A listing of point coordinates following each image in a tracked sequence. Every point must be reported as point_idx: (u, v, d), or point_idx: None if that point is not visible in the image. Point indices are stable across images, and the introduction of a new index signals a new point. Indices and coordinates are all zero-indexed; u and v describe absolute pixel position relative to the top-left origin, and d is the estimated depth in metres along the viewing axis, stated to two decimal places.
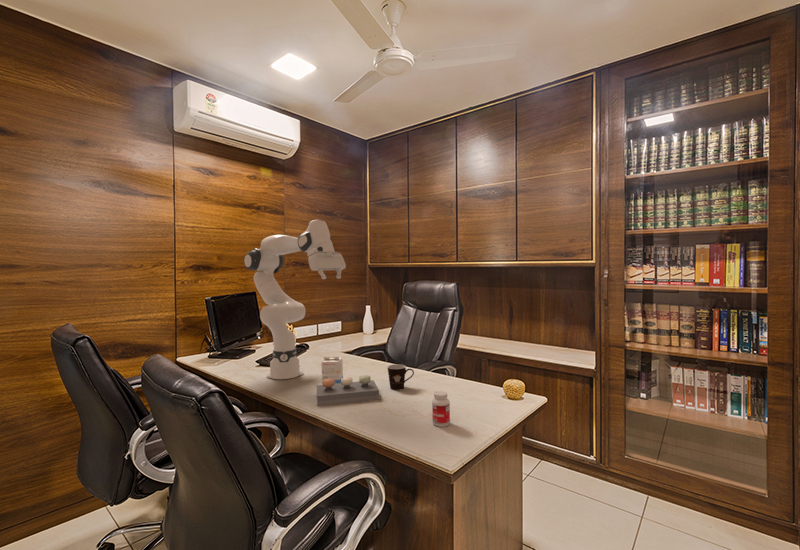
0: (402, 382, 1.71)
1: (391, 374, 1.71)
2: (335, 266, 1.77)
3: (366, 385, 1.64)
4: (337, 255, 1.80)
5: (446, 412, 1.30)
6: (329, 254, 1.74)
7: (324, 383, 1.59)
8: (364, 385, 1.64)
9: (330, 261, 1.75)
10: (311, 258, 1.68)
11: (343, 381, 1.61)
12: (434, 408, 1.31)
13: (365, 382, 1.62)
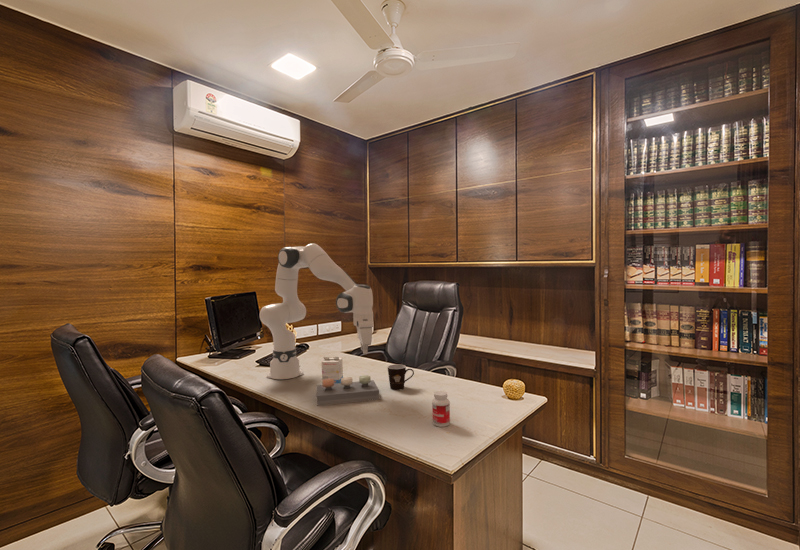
0: (402, 382, 1.71)
1: (391, 374, 1.71)
2: None
3: (366, 385, 1.64)
4: None
5: (446, 412, 1.30)
6: None
7: (324, 383, 1.59)
8: (364, 385, 1.64)
9: None
10: (367, 333, 1.55)
11: (343, 381, 1.61)
12: (434, 408, 1.31)
13: (365, 382, 1.62)
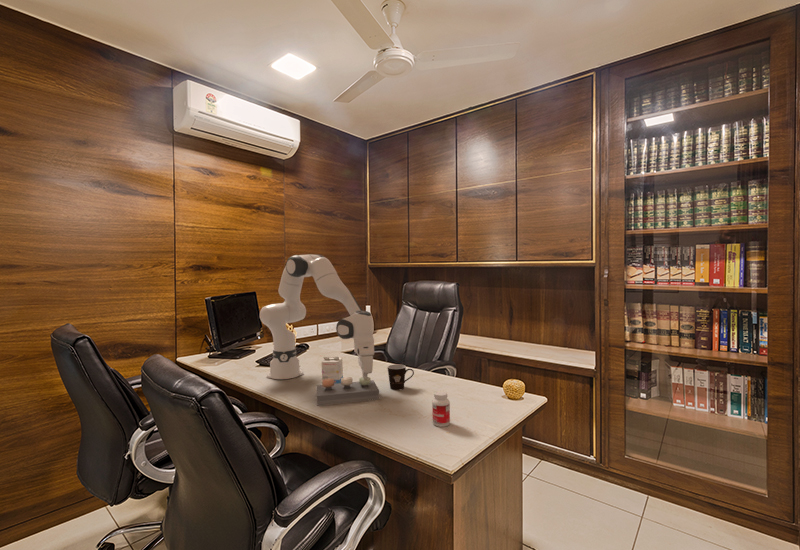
0: (402, 382, 1.71)
1: (391, 374, 1.71)
2: None
3: None
4: None
5: (446, 412, 1.30)
6: None
7: (324, 383, 1.59)
8: None
9: None
10: (368, 361, 1.55)
11: (343, 381, 1.61)
12: (434, 408, 1.31)
13: (365, 384, 1.63)
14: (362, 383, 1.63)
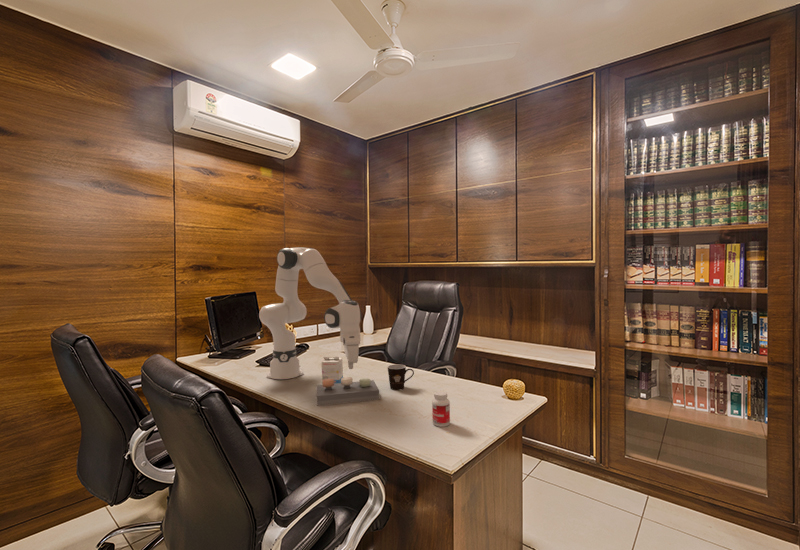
0: (402, 382, 1.71)
1: (391, 374, 1.71)
2: None
3: None
4: None
5: (446, 412, 1.30)
6: None
7: (324, 383, 1.59)
8: None
9: None
10: (353, 350, 1.55)
11: (343, 381, 1.61)
12: (434, 408, 1.31)
13: (365, 385, 1.63)
14: (362, 385, 1.63)
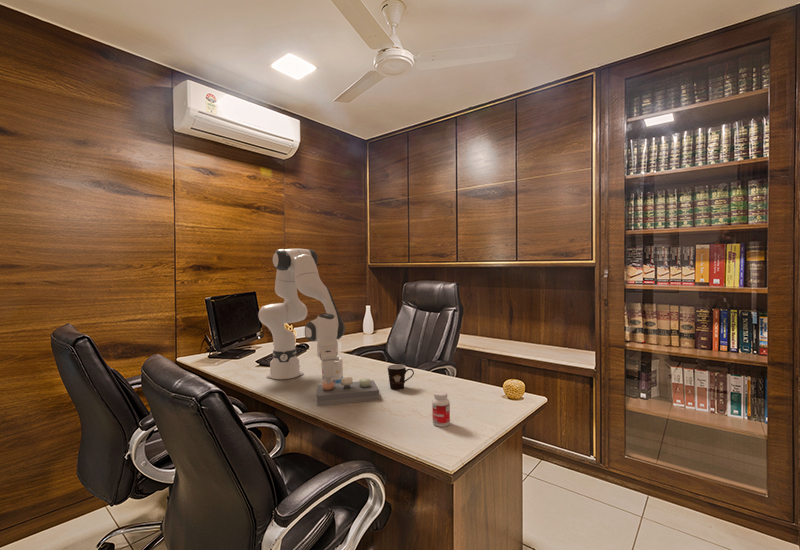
0: (402, 382, 1.71)
1: (391, 374, 1.71)
2: None
3: None
4: None
5: (446, 412, 1.30)
6: None
7: (324, 386, 1.59)
8: None
9: None
10: (329, 365, 1.52)
11: (343, 381, 1.61)
12: (434, 408, 1.31)
13: (365, 385, 1.63)
14: (362, 385, 1.63)
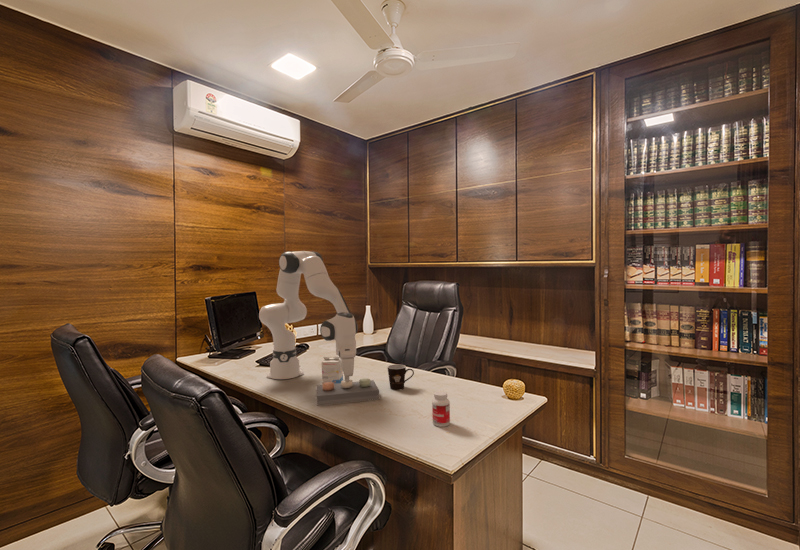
0: (402, 382, 1.71)
1: (391, 374, 1.71)
2: None
3: None
4: None
5: (446, 412, 1.30)
6: None
7: (324, 386, 1.59)
8: None
9: None
10: (349, 363, 1.54)
11: (343, 384, 1.61)
12: (434, 408, 1.31)
13: (365, 385, 1.63)
14: (362, 385, 1.63)
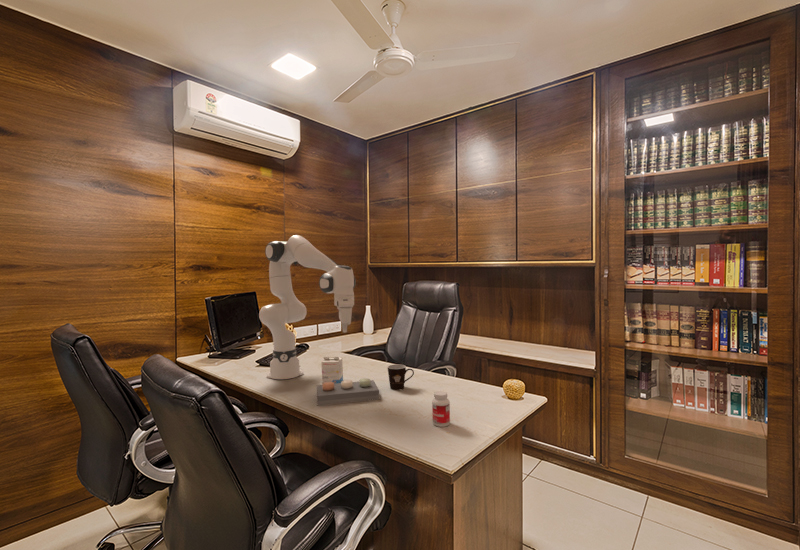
0: (402, 382, 1.71)
1: (391, 374, 1.71)
2: None
3: None
4: None
5: (446, 412, 1.30)
6: None
7: (324, 386, 1.59)
8: None
9: None
10: (346, 312, 1.57)
11: (343, 384, 1.61)
12: (434, 408, 1.31)
13: (365, 385, 1.63)
14: (362, 385, 1.63)
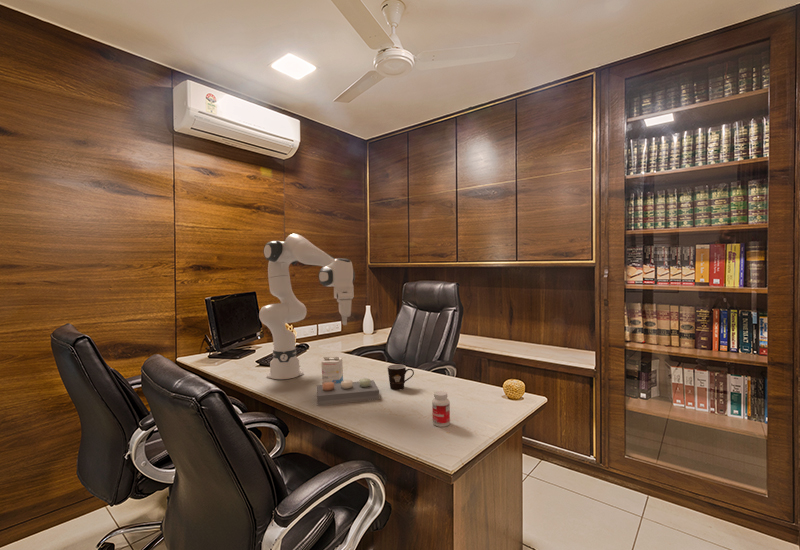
0: (402, 382, 1.71)
1: (391, 374, 1.71)
2: None
3: None
4: None
5: (446, 412, 1.30)
6: None
7: (324, 386, 1.59)
8: None
9: None
10: (346, 304, 1.58)
11: (343, 384, 1.61)
12: (434, 408, 1.31)
13: (365, 385, 1.63)
14: (362, 385, 1.63)
